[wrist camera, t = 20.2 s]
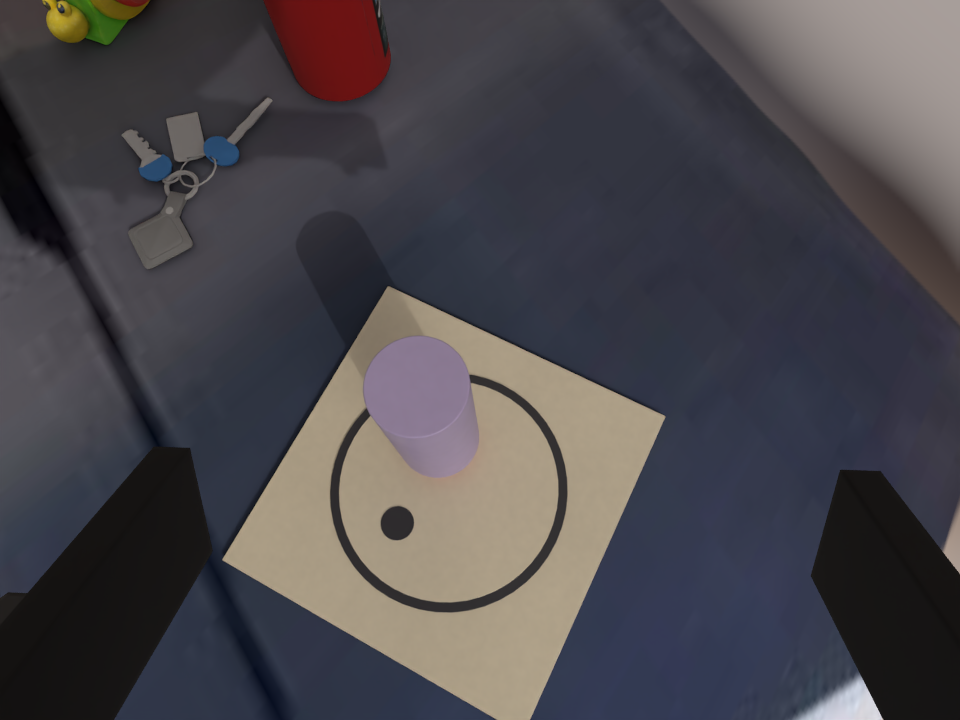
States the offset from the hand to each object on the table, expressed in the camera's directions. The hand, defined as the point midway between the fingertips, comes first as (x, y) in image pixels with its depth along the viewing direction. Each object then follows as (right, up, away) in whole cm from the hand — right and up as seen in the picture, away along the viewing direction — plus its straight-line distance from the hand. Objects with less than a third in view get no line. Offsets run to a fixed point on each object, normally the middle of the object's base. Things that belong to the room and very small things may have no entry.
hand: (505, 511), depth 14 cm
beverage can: (-10, +23, +34) cm, 42 cm away
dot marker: (-3, -1, +24) cm, 25 cm away
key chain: (-21, +16, +32) cm, 41 cm away
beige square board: (-2, -4, +24) cm, 25 cm away
